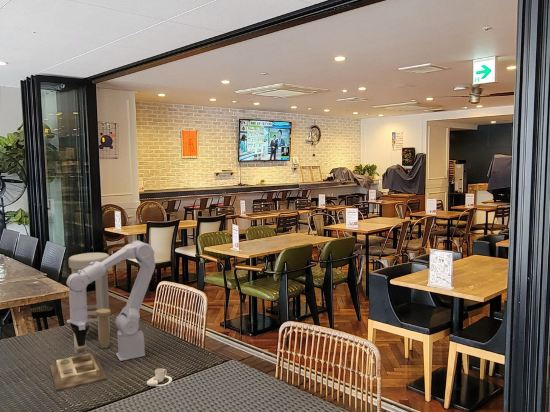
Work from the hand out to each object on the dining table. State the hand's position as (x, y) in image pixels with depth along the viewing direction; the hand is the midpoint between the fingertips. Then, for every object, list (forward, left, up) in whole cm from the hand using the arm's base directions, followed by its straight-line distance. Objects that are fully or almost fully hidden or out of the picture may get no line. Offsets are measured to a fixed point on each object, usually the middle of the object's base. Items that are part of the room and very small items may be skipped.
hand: (80, 343), depth 175 cm
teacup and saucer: (-19, +24, -10) cm, 32 cm away
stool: (-9, -31, -9) cm, 33 cm away
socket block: (+2, +5, -9) cm, 10 cm away
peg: (0, 0, -3) cm, 3 cm away
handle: (-11, -16, -9) cm, 21 cm away
